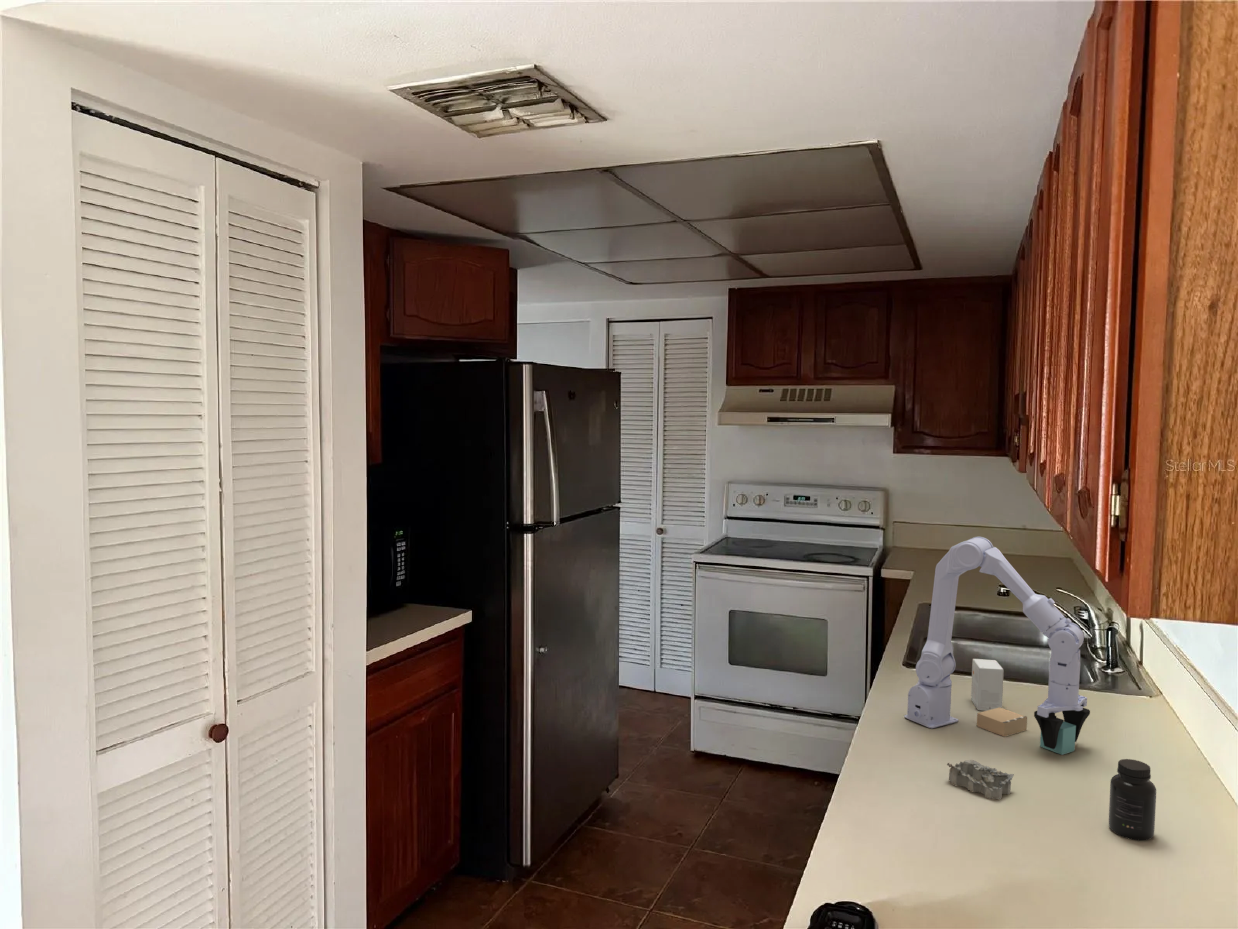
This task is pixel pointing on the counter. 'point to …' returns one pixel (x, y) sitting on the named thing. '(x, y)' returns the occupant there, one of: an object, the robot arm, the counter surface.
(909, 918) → the counter surface
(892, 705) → the counter surface
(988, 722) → the taped cardboard box
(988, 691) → the small box
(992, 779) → the egg carton
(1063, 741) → the teal box
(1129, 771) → the supplement bottle
